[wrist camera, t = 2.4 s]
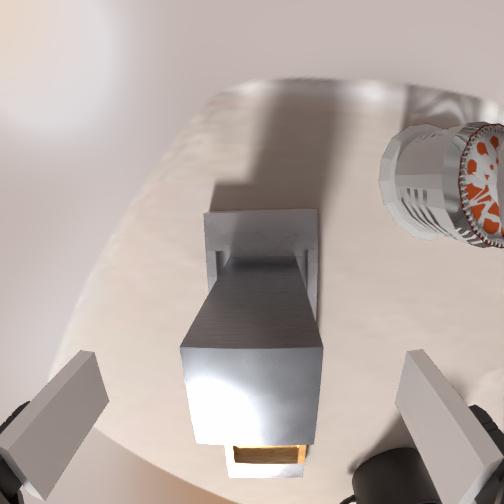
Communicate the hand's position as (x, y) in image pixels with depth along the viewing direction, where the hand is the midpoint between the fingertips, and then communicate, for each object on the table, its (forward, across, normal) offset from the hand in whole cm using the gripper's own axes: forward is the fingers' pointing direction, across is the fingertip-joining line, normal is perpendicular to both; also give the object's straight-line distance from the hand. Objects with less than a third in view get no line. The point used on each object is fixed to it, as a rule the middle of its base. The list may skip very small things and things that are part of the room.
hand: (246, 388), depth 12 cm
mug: (+14, -14, +26) cm, 33 cm away
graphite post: (+13, 0, 0) cm, 13 cm away
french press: (+14, -16, -8) cm, 22 cm away
